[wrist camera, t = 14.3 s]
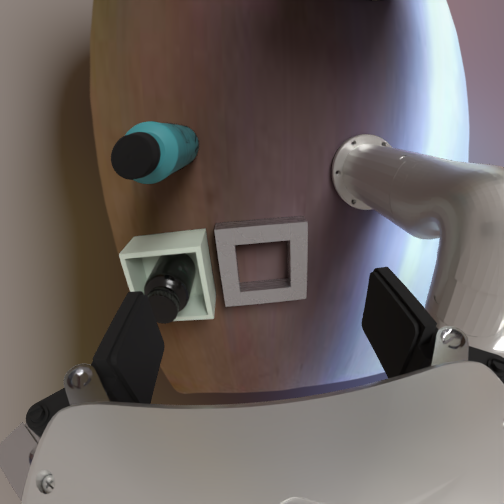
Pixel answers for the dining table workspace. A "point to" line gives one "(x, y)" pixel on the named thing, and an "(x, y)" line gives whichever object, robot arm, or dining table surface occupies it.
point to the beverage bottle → (154, 151)
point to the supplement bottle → (170, 286)
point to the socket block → (261, 232)
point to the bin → (153, 246)
